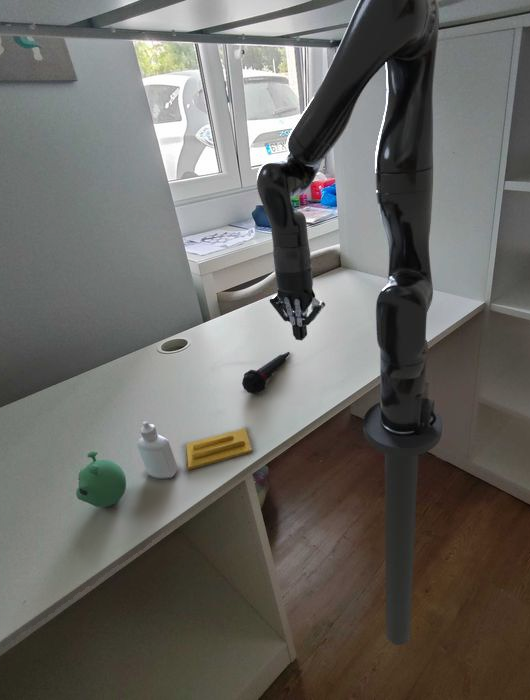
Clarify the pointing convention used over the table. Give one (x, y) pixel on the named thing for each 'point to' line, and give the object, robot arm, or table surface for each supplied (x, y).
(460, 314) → the table surface
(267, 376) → the microphone
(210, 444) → the soap dish
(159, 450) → the eye dropper bottle
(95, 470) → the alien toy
